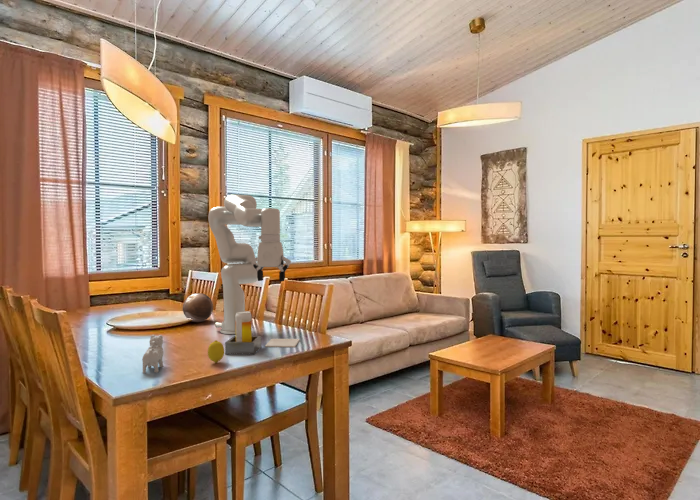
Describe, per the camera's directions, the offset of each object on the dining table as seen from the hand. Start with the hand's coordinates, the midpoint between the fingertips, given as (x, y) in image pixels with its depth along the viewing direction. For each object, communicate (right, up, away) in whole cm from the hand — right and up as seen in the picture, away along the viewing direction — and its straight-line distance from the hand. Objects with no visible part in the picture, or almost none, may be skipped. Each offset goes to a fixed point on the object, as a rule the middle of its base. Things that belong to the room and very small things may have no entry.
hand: (271, 281), depth 181 cm
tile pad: (+4, -26, +3) cm, 27 cm away
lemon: (-15, -27, -25) cm, 40 cm away
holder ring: (-9, -27, -8) cm, 29 cm away
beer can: (-9, -27, -8) cm, 29 cm away
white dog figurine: (-34, -28, -31) cm, 54 cm away
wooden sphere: (-47, -25, +50) cm, 73 cm away
